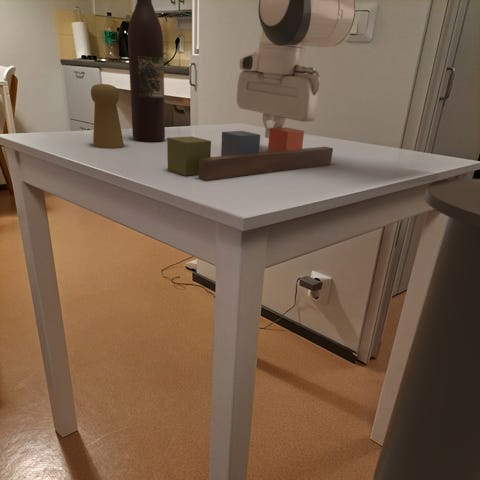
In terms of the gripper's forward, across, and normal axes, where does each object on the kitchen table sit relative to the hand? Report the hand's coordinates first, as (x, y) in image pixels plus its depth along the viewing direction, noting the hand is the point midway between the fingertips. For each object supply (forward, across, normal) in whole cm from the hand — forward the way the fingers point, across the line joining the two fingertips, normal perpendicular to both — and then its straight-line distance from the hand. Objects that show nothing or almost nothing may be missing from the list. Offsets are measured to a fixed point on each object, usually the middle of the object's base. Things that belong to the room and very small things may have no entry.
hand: (271, 138), depth 96 cm
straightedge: (+2, -14, +14) cm, 20 cm away
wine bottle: (+4, +22, +16) cm, 28 cm away
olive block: (+2, -9, +28) cm, 29 cm away
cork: (+4, +18, +28) cm, 34 cm away
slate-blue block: (+3, -6, +14) cm, 15 cm away
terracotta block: (+3, -4, 0) cm, 5 cm away
